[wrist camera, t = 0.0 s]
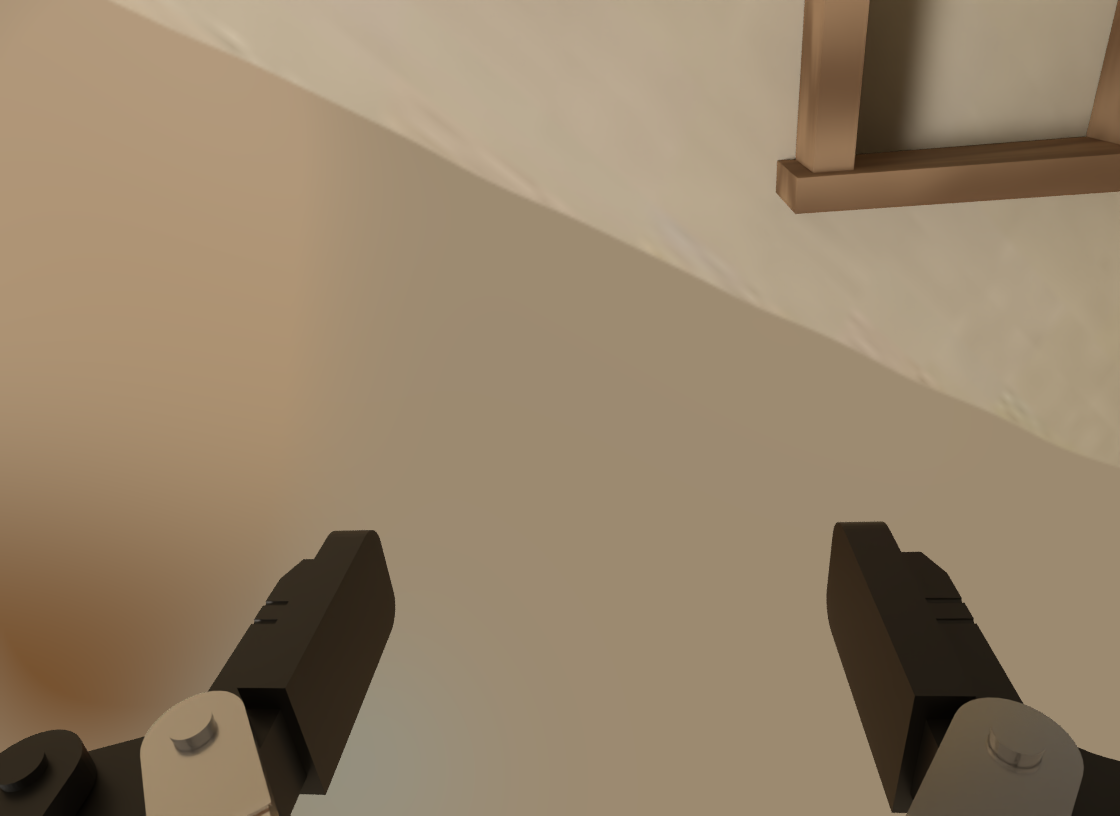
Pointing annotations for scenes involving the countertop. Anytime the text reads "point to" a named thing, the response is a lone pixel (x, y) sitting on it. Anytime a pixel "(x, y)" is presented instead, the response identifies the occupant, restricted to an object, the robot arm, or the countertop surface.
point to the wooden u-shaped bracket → (927, 174)
